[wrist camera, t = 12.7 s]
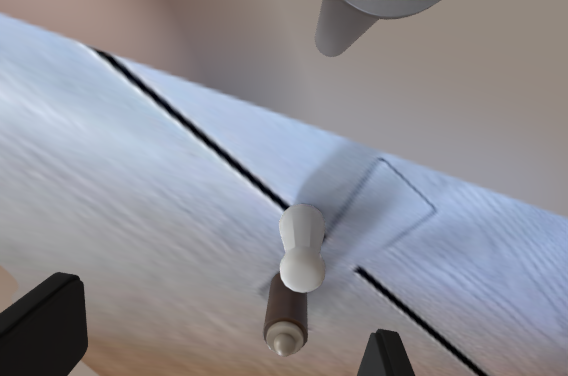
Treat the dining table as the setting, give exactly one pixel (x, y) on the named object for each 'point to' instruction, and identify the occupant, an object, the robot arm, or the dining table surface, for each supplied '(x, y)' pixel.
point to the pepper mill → (285, 319)
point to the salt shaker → (302, 248)
